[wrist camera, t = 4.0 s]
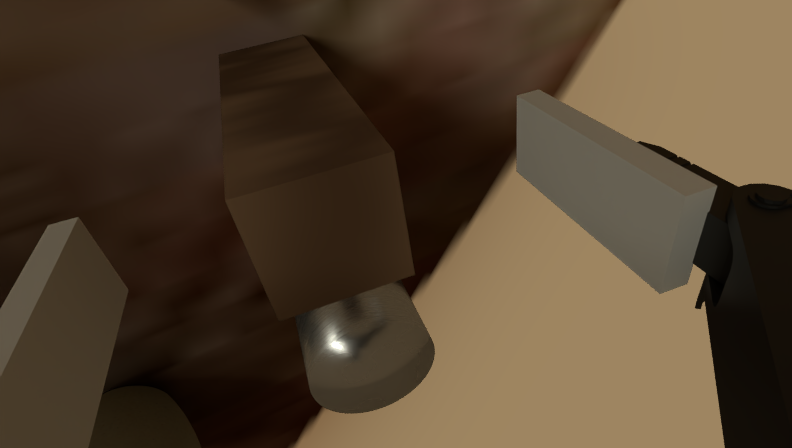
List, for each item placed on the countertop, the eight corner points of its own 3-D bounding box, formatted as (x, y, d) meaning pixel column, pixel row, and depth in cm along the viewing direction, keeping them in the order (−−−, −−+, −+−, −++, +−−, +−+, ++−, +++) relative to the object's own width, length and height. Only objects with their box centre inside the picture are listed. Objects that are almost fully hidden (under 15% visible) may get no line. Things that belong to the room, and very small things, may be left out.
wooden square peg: (247, 133, 24) (278, 321, 13) (218, 54, 21) (224, 201, 10) (323, 113, 24) (415, 274, 13) (302, 34, 22) (394, 151, 11)
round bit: (342, 295, 32) (386, 421, 24) (263, 267, 28) (283, 402, 20) (393, 229, 30) (458, 340, 22) (316, 190, 27) (359, 305, 19)
